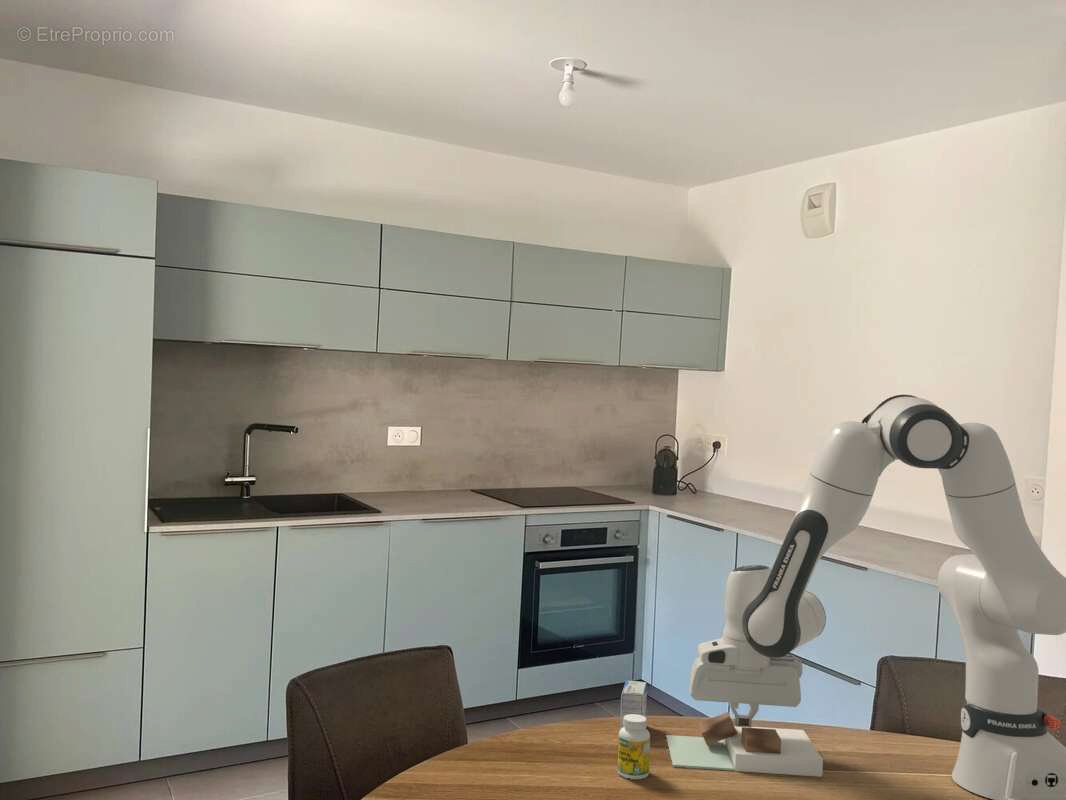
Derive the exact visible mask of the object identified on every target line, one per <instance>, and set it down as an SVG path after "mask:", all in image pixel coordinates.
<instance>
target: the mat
mask: <svg viewBox="0 0 1066 800" xmlns="http://www.w3.org/2000/svg"><path fill="white" fill-rule="evenodd" d="M665 738H667V739H666V743H667V742H668V743H667V748H668V747H669V748H668V751H670V752H669V755H670V760H672V761H671V763H672V768H683V767H684V768H685V769H686V768H687V769H701V770H702V769H703V770H712V771H714V770H716V771H730V772H731V771H732V772H735V769H734V767H733V765H732V762H731V760H730V757H729V755H728V752H727V750H726V747H725V745H724V742H723V740H721V741H718V742H715V743H713V744H710V745H708V746H707V744H706V742H705V740H704V737H703V736H689V735H675V734H673V735H672V734H666V735H665ZM684 768H683V769H684Z"/></svg>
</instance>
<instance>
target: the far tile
mask: <svg viewBox="0 0 1066 800" xmlns="http://www.w3.org/2000/svg"><path fill="white" fill-rule="evenodd" d="M698 726H699V729H700V733H701V735H702V737H704V740H705V742H706V744H707V746H708V745H710V744H713V743H715V742H718V741H721V740H723V739H726V738H728V737H731V736H733V735H736V734H737V732H736V729H735V727H734V726H735V724H734V722H733V720H732V717H731V716H730V713H729V711H726V712H723V713H720V714H718V715H716V716H713V717H711V718H709V719H706V720H704V721H701V722H698Z"/></svg>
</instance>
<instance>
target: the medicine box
mask: <svg viewBox="0 0 1066 800" xmlns="http://www.w3.org/2000/svg"><path fill="white" fill-rule="evenodd" d="M620 696H621V697H620V722H619V723H620V724H619V725H620V727H619V729H620V730H621V729H622V728H623V727H624V725H623V717H624V716H625V715H628V714H637V715H642V716H644V717H646V718H647V699H648V698H647V697H648V683H647V682H646V681H645V682H644V681H636V680H626V681H625V683H624V686H623V689H622V692H621V695H620ZM620 730H619V731H620Z"/></svg>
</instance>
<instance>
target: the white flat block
mask: <svg viewBox="0 0 1066 800" xmlns="http://www.w3.org/2000/svg"><path fill="white" fill-rule="evenodd" d="M734 727H735V729H736V732H737V734H736V735H733V736H731V737H728V738H726V739H723V742H724V744H725V747H726V750H727V752H728V755H729V757H730V760H731V762H732V765H733V767H734V772H744V773H761V774H762V773H763V774H774V775H791V776H804V777H805V776H806V777H822V778H823V767H824V759H823V757H822V756H821V754H820V753H819V751H818V749H817V748H816V747H815V746H814V744H813V742H812V741H811V739H810V738H809V736H808V735H807V733H806V732H805V730H804V729H795V728H794V729H793V728H792V729H791V728H777V727H763V726H760V727H759V726H752V727H751V728H761V729H775V730H776V732H777V733H778V735H779V737H780V739H781V754H772V753H757V752H746V751H745V748H744V746H743V744H742V742H741V734H742V727H736V726H735V725H734ZM745 728H749V727H745Z"/></svg>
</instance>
